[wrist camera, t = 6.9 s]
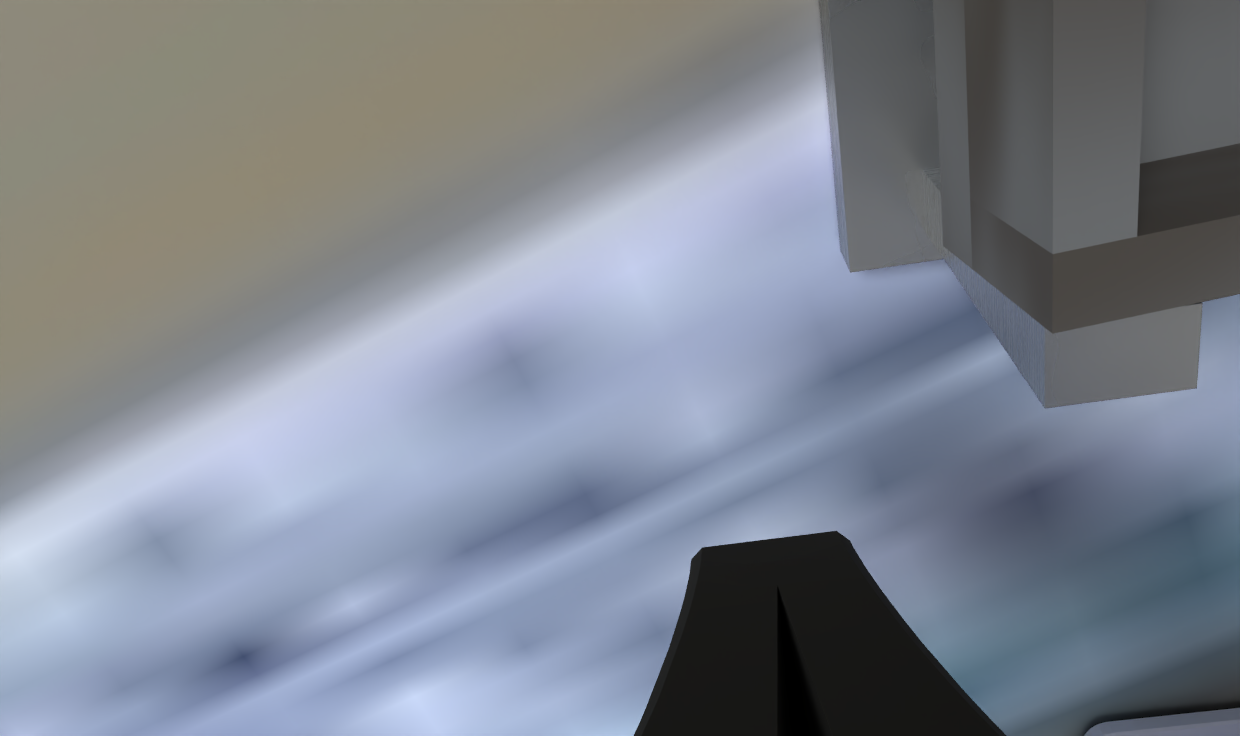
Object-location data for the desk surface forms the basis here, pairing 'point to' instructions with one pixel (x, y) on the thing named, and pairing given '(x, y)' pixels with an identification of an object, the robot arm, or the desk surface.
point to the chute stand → (912, 213)
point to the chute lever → (1091, 152)
